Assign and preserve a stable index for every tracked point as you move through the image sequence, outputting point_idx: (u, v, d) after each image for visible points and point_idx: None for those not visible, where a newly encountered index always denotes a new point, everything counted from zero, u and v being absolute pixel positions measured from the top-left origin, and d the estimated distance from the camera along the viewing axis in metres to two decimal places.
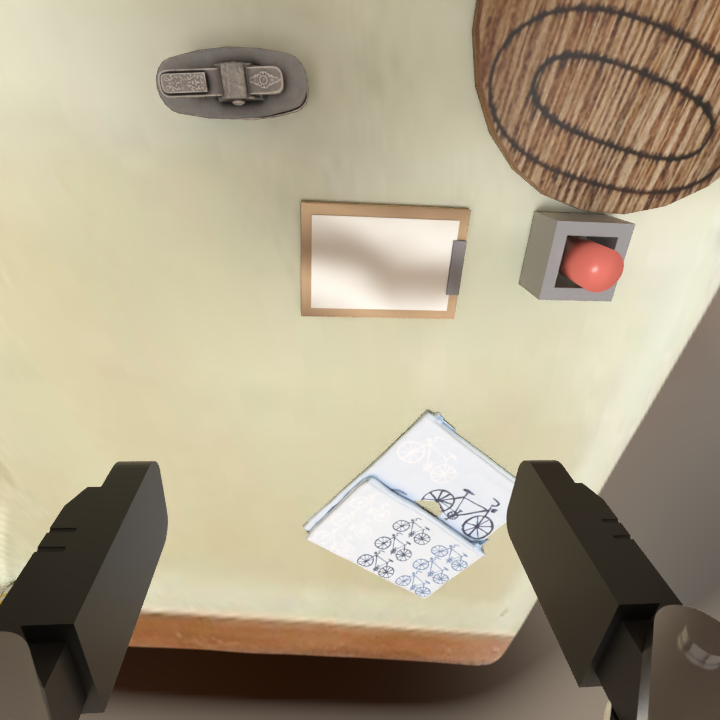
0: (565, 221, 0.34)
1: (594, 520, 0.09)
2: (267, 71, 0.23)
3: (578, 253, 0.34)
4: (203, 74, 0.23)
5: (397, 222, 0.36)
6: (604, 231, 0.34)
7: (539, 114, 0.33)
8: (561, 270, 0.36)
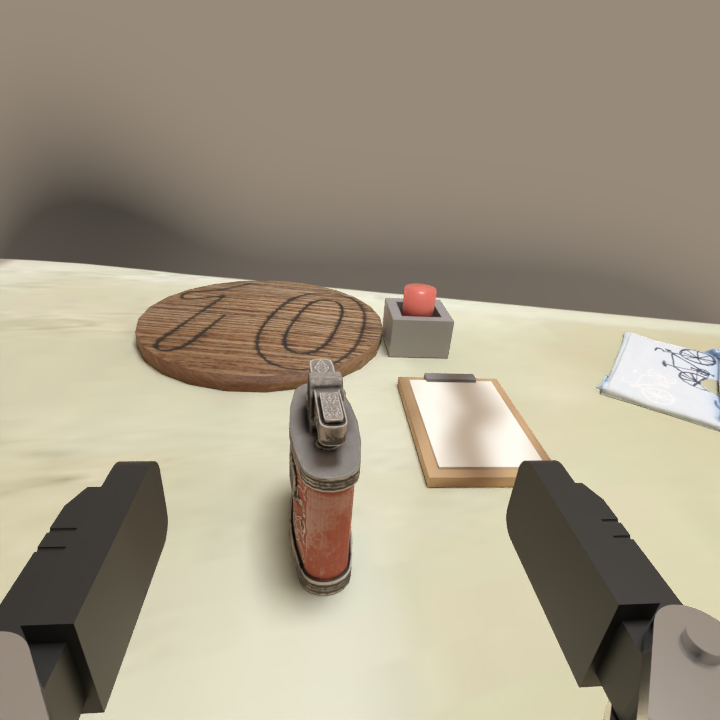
0: (392, 318, 0.45)
1: (594, 520, 0.09)
2: (314, 365, 0.24)
3: (412, 305, 0.46)
4: (321, 393, 0.21)
5: (423, 411, 0.36)
6: (393, 305, 0.48)
7: (322, 350, 0.44)
8: None
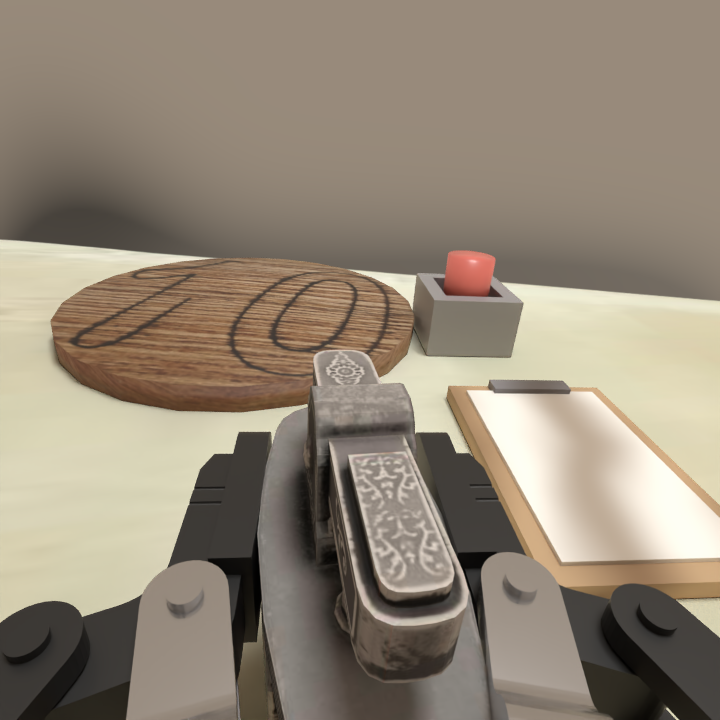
0: (432, 298, 0.31)
1: (461, 483, 0.09)
2: (324, 366, 0.09)
3: (461, 279, 0.31)
4: (355, 456, 0.06)
5: (502, 444, 0.22)
6: (430, 282, 0.34)
7: (330, 345, 0.29)
8: None
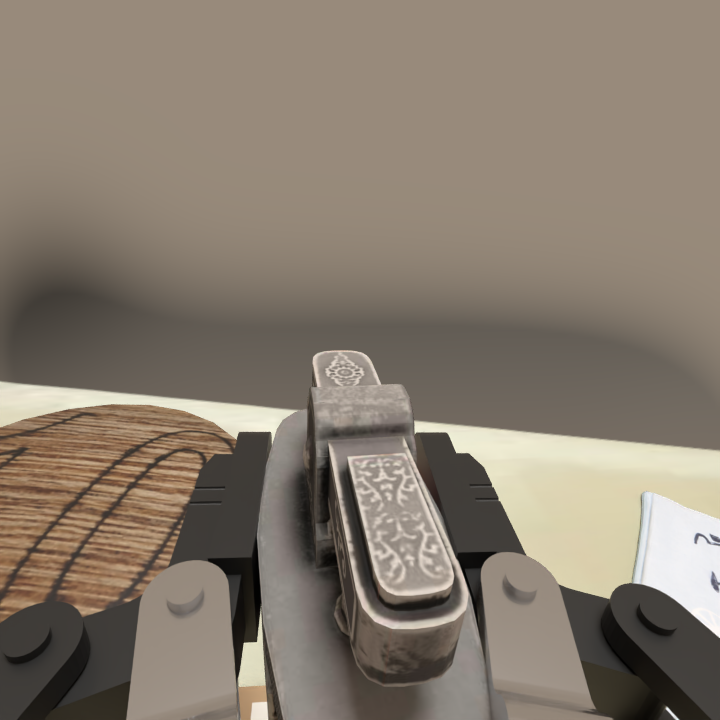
0: None
1: (461, 483, 0.09)
2: (324, 367, 0.09)
3: None
4: (354, 457, 0.06)
5: None
6: None
7: None
8: None
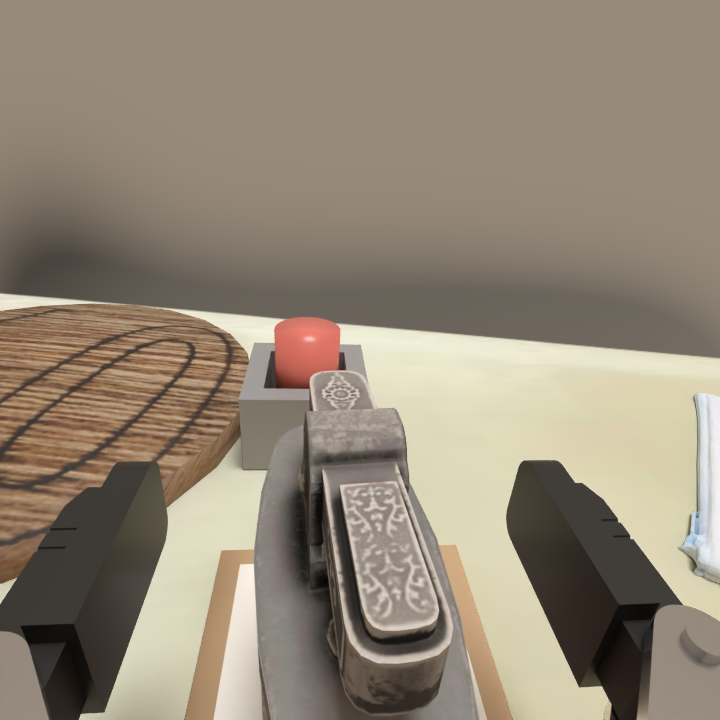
0: None
1: (594, 520, 0.09)
2: (321, 387, 0.09)
3: (287, 364, 0.22)
4: (346, 486, 0.07)
5: (225, 718, 0.12)
6: (260, 360, 0.24)
7: (72, 472, 0.20)
8: None
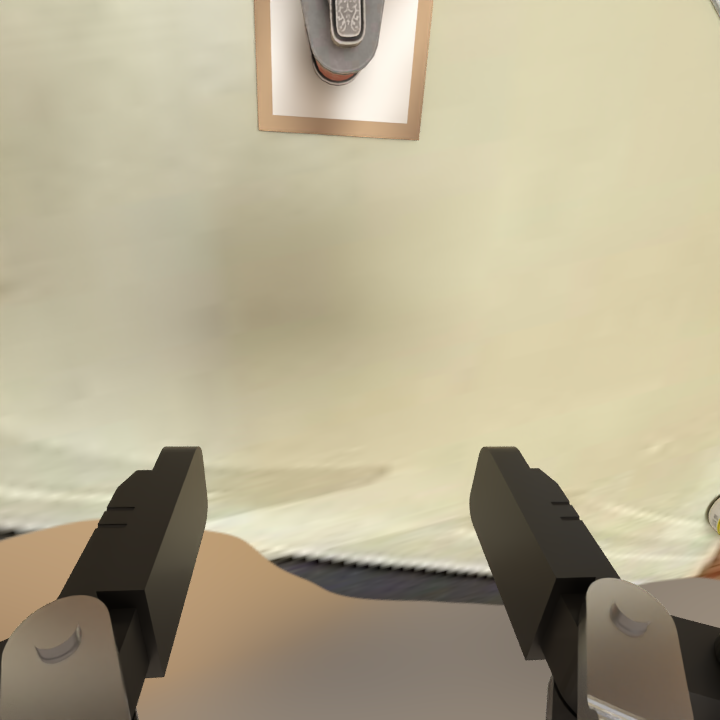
0: None
1: (543, 501, 0.09)
2: None
3: None
4: None
5: None
6: None
7: None
8: None
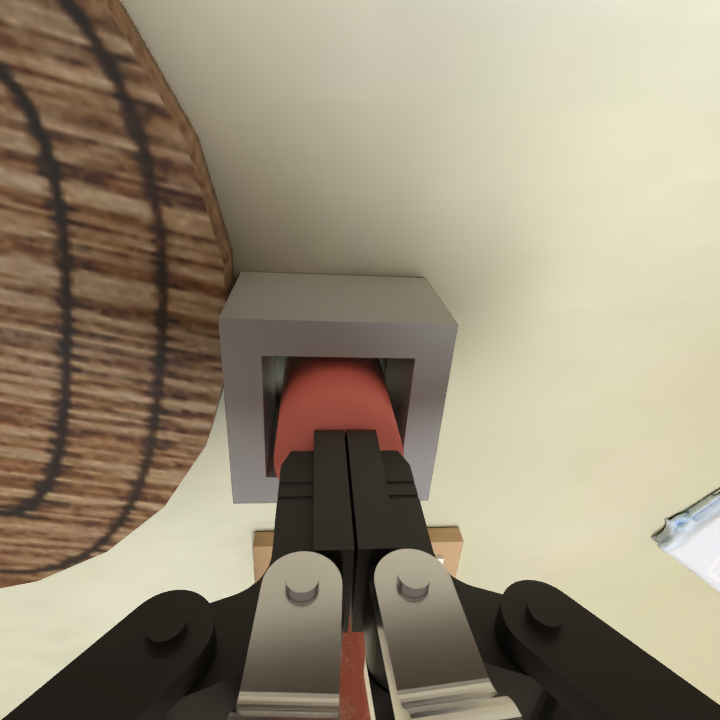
0: (233, 484, 0.14)
1: (378, 479, 0.09)
2: None
3: None
4: None
5: None
6: (247, 396, 0.12)
7: (53, 495, 0.16)
8: None
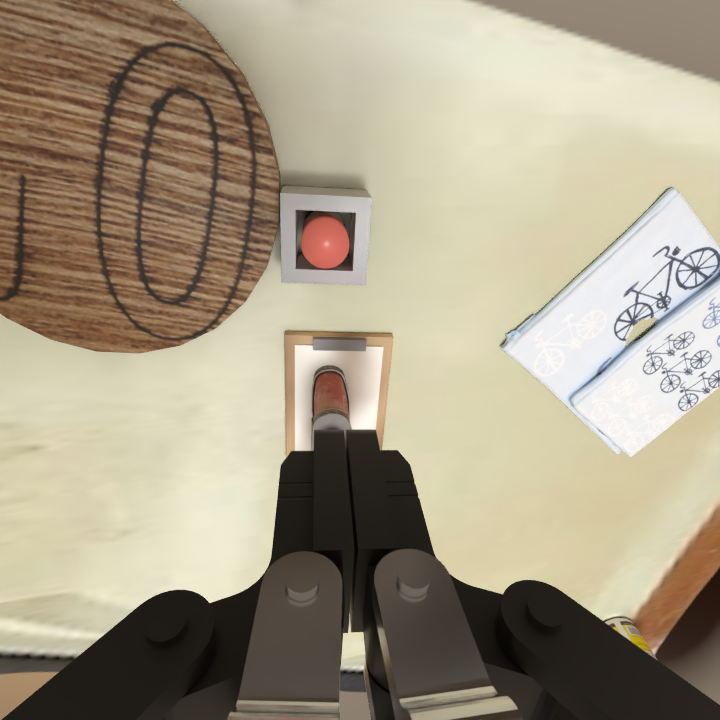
0: (281, 273, 0.33)
1: (378, 480, 0.09)
2: None
3: None
4: None
5: (298, 395, 0.41)
6: (289, 228, 0.31)
7: (194, 293, 0.35)
8: None
